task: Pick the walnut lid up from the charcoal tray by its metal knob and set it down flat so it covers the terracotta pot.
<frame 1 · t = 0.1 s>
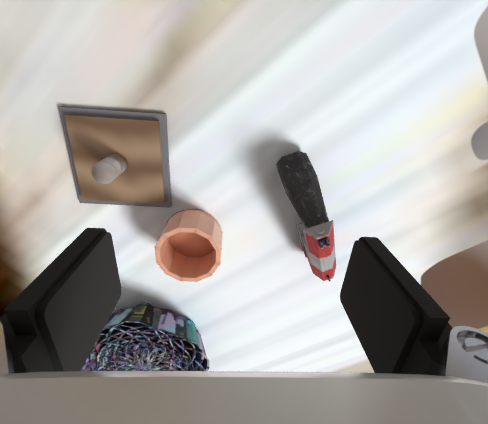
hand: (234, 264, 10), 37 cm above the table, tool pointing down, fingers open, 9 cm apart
decorative bowl: (153, 333, 64), on the table
terracotta pot: (193, 234, 52), on the table
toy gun: (304, 211, 51), on the table
walnut lid: (119, 161, 45), point 1 cm above the table, touching charcoal tray
charcoal tray: (121, 160, 45), on the table
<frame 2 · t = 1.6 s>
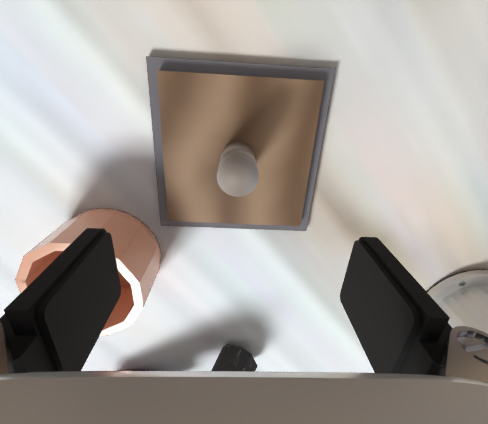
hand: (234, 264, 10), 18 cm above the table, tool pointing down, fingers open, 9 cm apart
terracotta pot: (112, 251, 31), on the table
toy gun: (177, 365, 41), on the table
walnut lid: (237, 156, 26), point 1 cm above the table, touching charcoal tray
charcoal tray: (237, 154, 27), on the table
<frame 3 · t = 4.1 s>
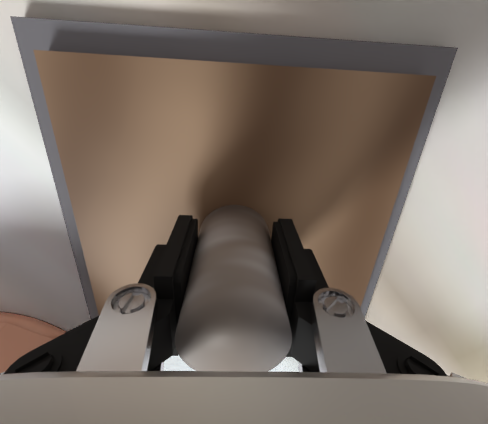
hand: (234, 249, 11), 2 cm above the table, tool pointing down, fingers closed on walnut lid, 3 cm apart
terracotta pot: (20, 371, 18), on the table
walnut lid: (234, 227, 13), point 1 cm above the table, touching charcoal tray, gripper
charcoal tray: (234, 222, 14), on the table
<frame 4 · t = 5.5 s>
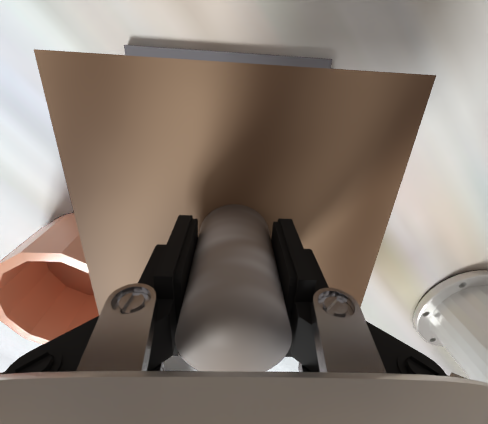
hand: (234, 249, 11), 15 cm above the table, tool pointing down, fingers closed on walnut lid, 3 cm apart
terracotta pot: (95, 257, 29), on the table
walnut lid: (234, 227, 13), point 13 cm above the table, touching gripper
charcoal tray: (227, 153, 25), on the table
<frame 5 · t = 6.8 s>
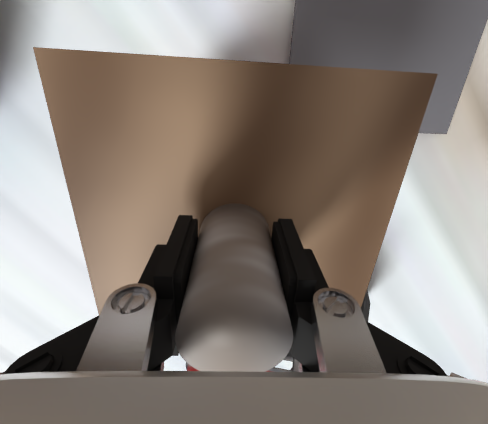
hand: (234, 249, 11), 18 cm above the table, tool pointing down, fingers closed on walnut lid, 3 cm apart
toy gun: (273, 309, 37), on the table
walnut lid: (234, 226, 13), point 16 cm above the table, touching gripper
charcoal tray: (385, 33, 23), on the table
when the fingers open (10 cm above the table, at t = 9.0 s): walnut lid drops 1 cm, resting on terracotta pot.
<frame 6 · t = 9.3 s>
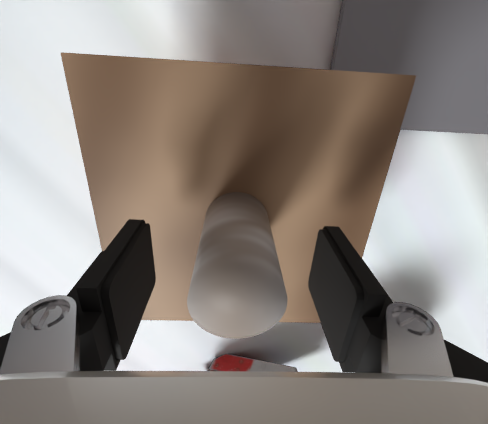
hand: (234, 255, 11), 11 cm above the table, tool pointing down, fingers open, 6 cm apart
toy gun: (295, 348, 30), on the table
walnut lid: (236, 214, 14), point 7 cm above the table, touching terracotta pot
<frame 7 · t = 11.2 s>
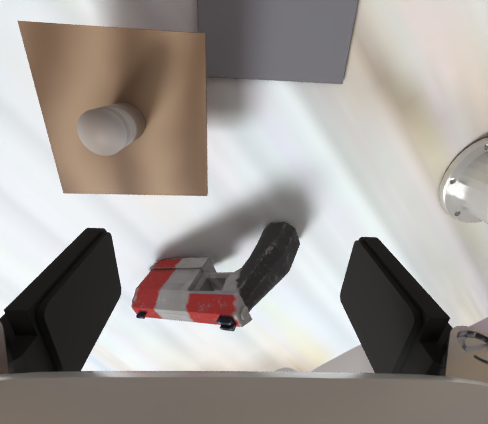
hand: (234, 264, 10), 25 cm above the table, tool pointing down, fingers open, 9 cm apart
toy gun: (216, 254, 41), on the table
walnut lid: (129, 120, 25), point 7 cm above the table, touching terracotta pot
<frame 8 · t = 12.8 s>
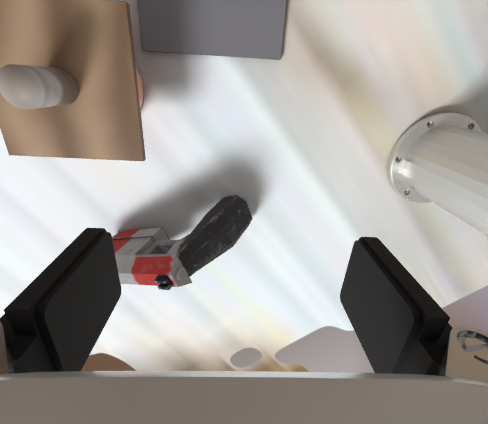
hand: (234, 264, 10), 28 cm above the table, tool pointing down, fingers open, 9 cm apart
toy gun: (175, 228, 42), on the table
walnut lid: (66, 86, 27), point 7 cm above the table, touching terracotta pot
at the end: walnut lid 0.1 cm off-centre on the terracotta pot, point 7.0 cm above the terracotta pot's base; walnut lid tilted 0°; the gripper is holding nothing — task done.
